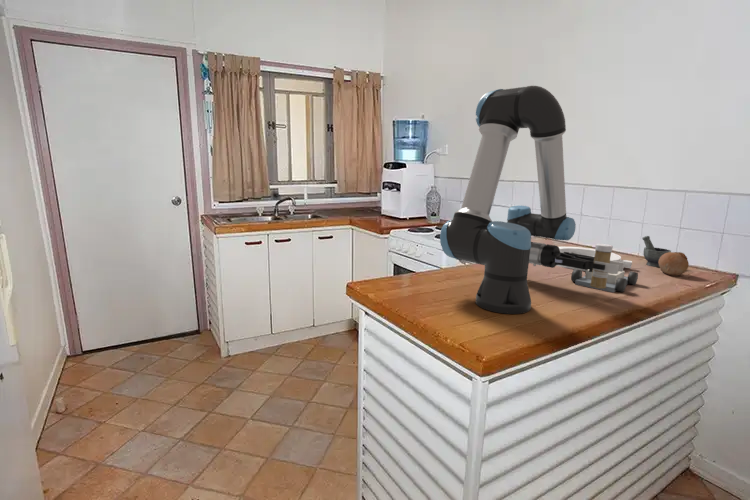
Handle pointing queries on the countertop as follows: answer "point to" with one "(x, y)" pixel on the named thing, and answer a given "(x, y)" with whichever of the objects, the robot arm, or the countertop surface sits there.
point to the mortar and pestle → (652, 252)
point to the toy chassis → (613, 280)
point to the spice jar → (602, 256)
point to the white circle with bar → (592, 253)
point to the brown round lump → (673, 263)
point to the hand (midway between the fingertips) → (620, 268)
